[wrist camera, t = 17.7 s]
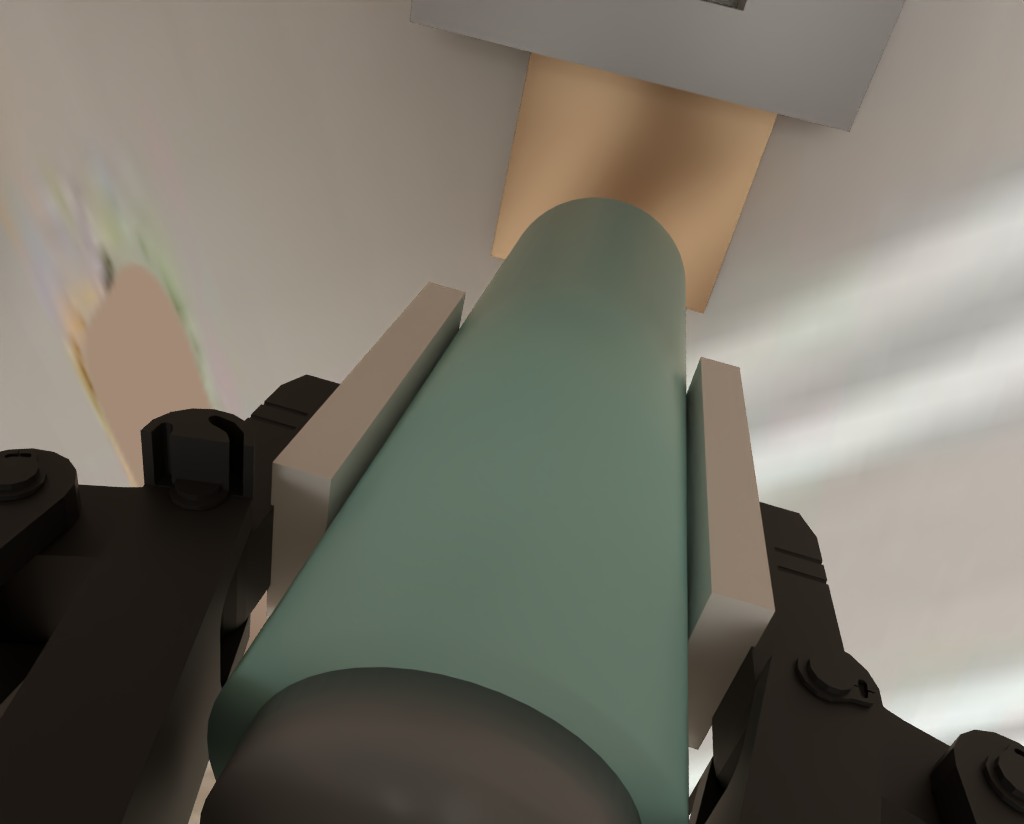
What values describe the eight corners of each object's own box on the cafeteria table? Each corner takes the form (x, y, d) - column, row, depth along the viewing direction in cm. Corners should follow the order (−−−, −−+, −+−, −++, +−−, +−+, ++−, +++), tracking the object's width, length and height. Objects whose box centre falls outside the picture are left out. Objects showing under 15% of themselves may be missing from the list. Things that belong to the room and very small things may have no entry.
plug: (492, 342, 21) (169, 937, 8) (527, 176, 19) (142, 637, 5) (654, 387, 21) (602, 1087, 8) (711, 224, 19) (783, 839, 5)
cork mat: (493, 251, 35) (490, 255, 34) (540, 13, 29) (538, 14, 29) (703, 308, 34) (703, 313, 33) (789, 75, 29) (791, 76, 28)
